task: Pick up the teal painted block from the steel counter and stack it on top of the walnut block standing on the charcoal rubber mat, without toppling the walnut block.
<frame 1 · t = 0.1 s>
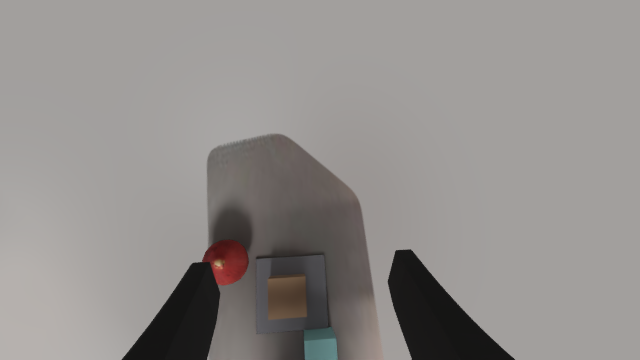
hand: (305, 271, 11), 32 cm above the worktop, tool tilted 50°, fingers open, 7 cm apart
red round piece: (232, 260, 41), on the worktop
walnut block: (288, 293, 40), resting on mat
mat: (291, 292, 41), on the worktop
teal block: (318, 343, 40), on the worktop
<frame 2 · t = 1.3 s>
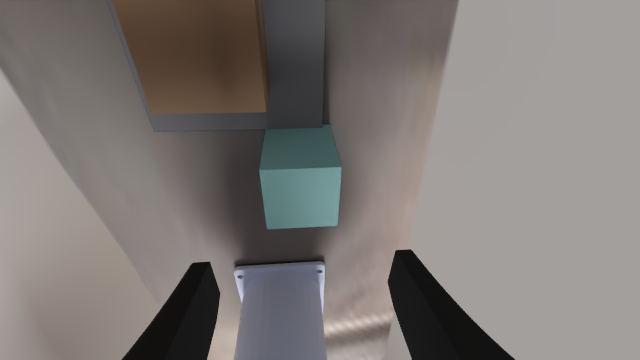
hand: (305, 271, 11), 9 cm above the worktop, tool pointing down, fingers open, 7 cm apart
walnut block: (215, 38, 14), resting on mat
mat: (226, 36, 14), on the worktop
teal block: (298, 152, 19), on the worktop
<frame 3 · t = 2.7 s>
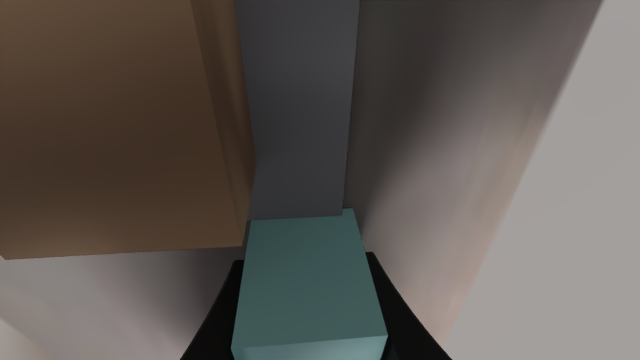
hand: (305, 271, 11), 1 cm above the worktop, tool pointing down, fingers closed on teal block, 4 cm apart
walnut block: (152, 89, 8), resting on mat
mat: (176, 84, 8), on the worktop
teal block: (304, 244, 12), on the worktop, touching gripper
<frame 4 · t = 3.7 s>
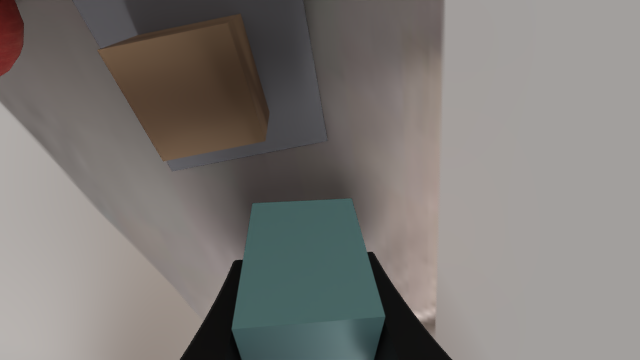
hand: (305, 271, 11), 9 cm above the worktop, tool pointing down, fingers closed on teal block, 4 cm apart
walnut block: (210, 77, 15), resting on mat
mat: (220, 73, 15), on the worktop
teal block: (303, 235, 13), point 7 cm above the worktop, touching gripper
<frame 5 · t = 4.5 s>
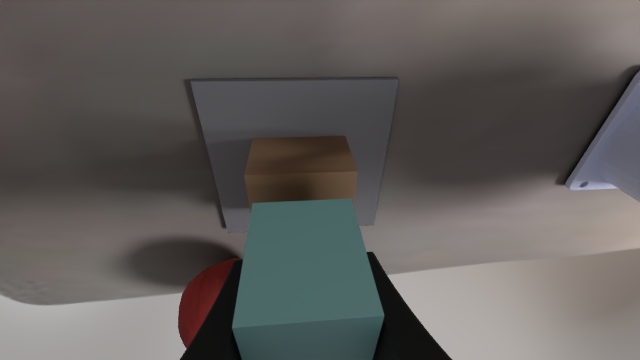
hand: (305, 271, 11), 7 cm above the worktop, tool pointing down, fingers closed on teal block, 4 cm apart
red round piece: (237, 259, 21), on the worktop
walnut block: (300, 174, 17), resting on mat
mat: (300, 164, 17), on the worktop
teal block: (303, 235, 13), point 5 cm above the worktop, touching gripper
when the fingers open (7 cm above the worktop, at t = 5.0 s): teal block stays where it is, resting on walnut block.
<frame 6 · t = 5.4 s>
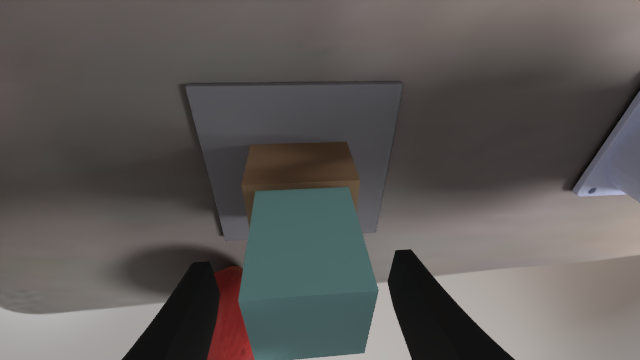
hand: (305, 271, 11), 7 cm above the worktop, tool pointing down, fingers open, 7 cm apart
red round piece: (235, 266, 21), on the worktop
walnut block: (300, 181, 16), resting on mat, touching teal block
mat: (300, 170, 16), on the worktop
teal block: (303, 222, 13), point 4 cm above the worktop, touching walnut block
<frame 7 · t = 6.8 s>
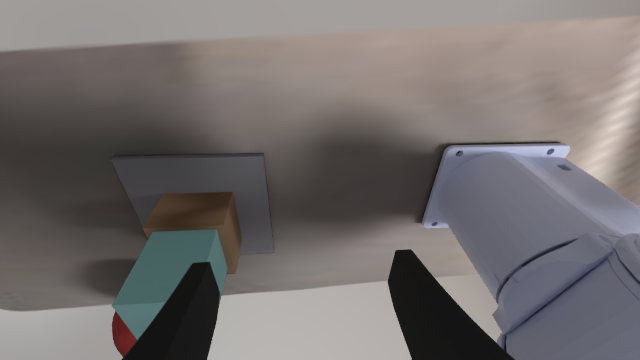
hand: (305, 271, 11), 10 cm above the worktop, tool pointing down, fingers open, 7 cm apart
red round piece: (171, 276, 27), on the worktop
walnut block: (205, 217, 22), resting on mat, touching teal block
mat: (205, 209, 22), on the worktop
teal block: (192, 251, 19), point 4 cm above the worktop, touching walnut block
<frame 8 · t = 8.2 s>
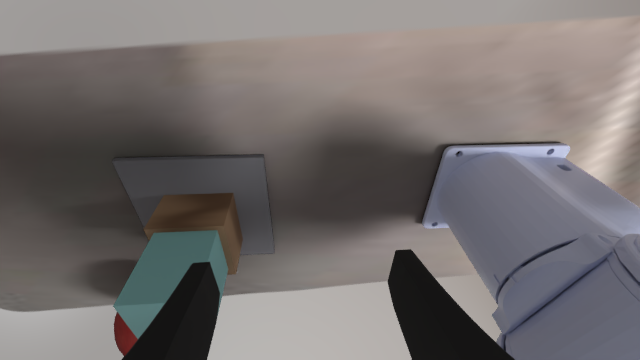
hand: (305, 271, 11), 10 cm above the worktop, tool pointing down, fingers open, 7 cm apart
red round piece: (172, 277, 27), on the worktop
walnut block: (206, 218, 22), resting on mat, touching teal block
mat: (206, 210, 22), on the worktop
teal block: (193, 252, 19), point 4 cm above the worktop, touching walnut block
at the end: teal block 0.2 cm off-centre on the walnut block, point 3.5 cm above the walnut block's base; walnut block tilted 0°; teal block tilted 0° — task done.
